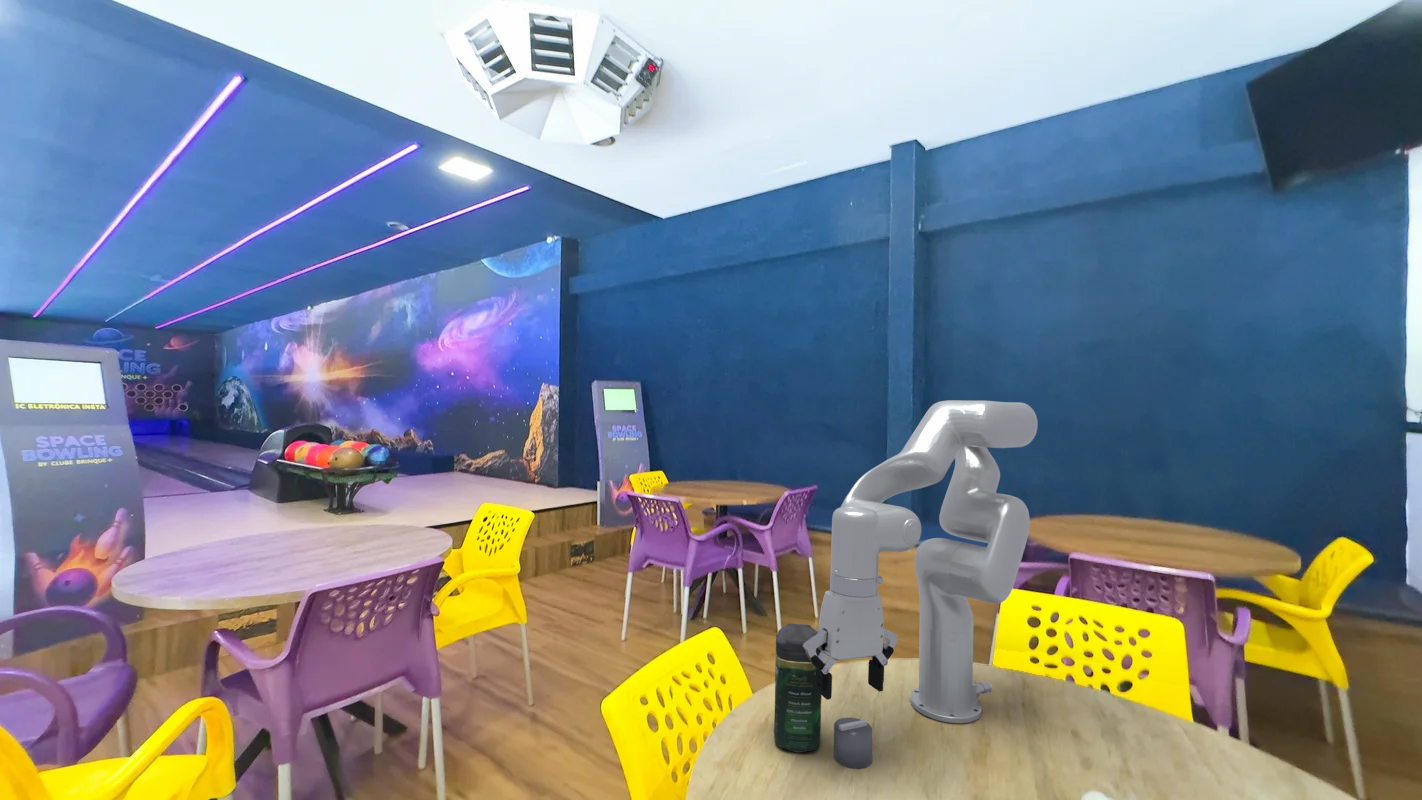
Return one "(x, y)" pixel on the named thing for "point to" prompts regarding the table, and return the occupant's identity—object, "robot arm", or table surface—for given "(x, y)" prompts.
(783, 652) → the coffee jar
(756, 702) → the table surface
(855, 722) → the lid
